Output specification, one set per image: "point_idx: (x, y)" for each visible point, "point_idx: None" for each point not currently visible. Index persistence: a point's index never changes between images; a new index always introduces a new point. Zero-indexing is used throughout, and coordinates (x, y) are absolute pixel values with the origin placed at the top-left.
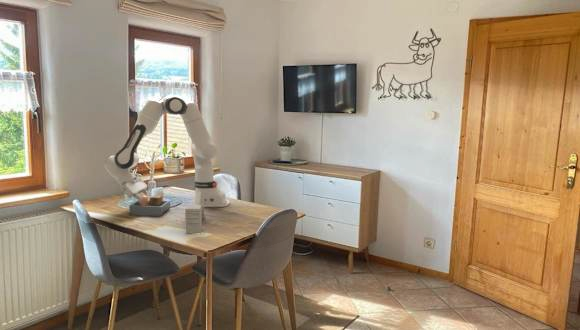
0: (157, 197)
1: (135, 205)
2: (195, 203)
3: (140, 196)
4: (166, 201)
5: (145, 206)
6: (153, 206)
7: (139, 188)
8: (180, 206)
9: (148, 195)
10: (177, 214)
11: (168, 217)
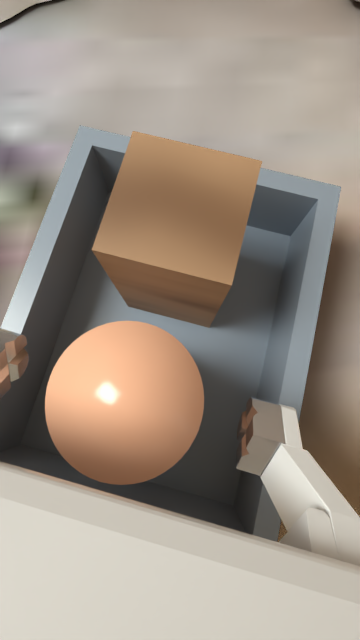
0: (241, 178)
1: (263, 490)
2: (3, 2)
3: (147, 455)
4: (88, 157)
5: (310, 355)
6: (316, 265)
7: (55, 553)
8: (22, 115)
9: (20, 335)
10: (264, 125)
11: (347, 180)
